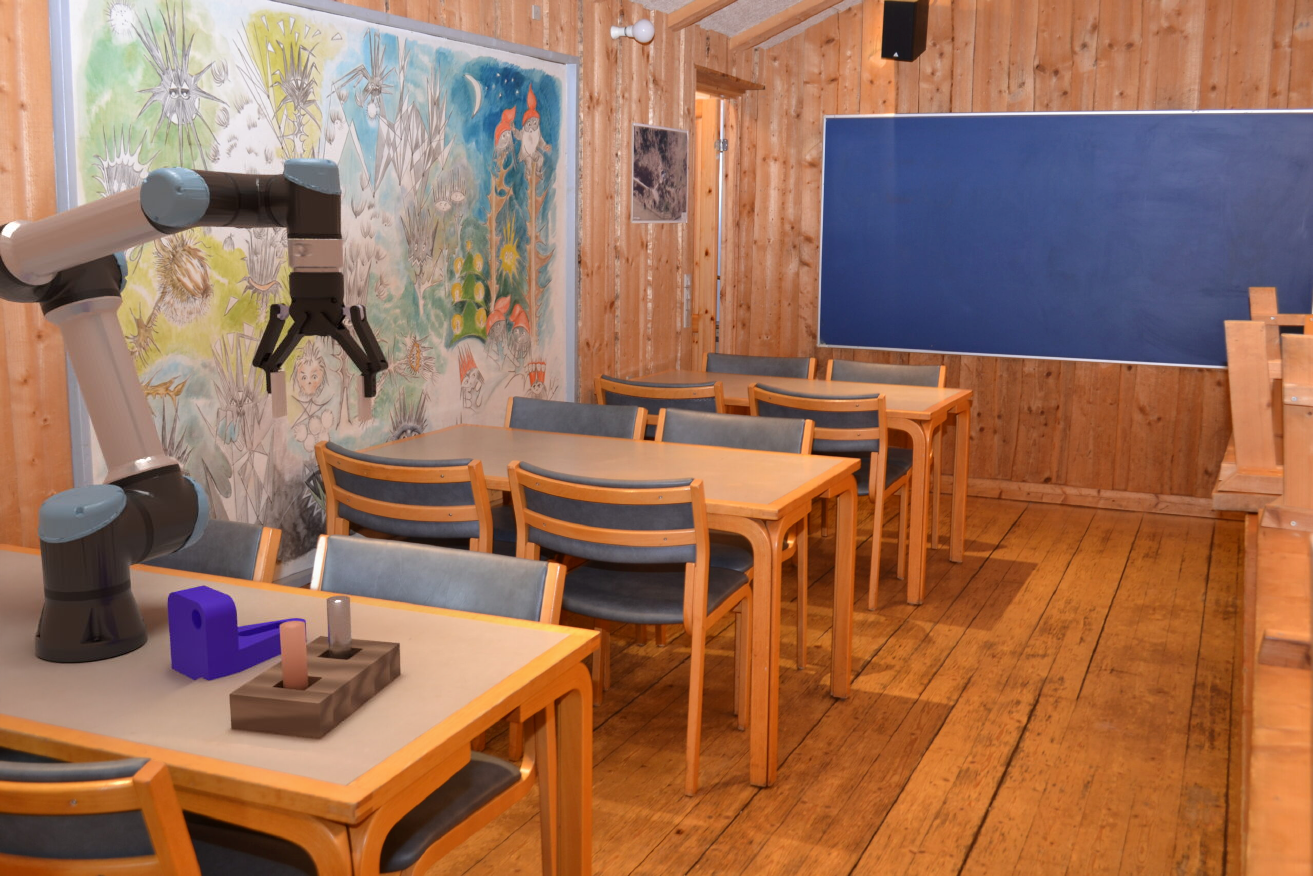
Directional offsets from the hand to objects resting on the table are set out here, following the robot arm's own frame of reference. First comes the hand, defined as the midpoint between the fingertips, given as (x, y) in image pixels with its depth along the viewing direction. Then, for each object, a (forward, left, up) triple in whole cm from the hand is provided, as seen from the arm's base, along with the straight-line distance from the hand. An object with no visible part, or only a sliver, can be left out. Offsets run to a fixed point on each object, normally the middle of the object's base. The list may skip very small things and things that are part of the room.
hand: (322, 418), depth 169 cm
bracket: (-9, -8, -35) cm, 37 cm away
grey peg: (+10, -16, -34) cm, 38 cm away
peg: (+10, -27, -34) cm, 44 cm away
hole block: (+10, -21, -35) cm, 42 cm away
